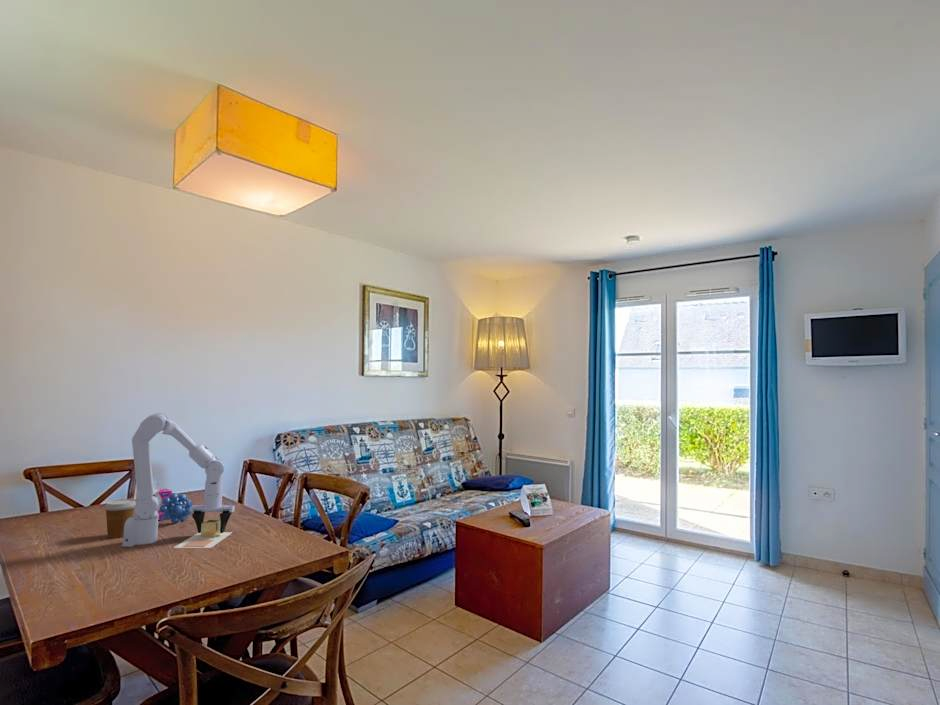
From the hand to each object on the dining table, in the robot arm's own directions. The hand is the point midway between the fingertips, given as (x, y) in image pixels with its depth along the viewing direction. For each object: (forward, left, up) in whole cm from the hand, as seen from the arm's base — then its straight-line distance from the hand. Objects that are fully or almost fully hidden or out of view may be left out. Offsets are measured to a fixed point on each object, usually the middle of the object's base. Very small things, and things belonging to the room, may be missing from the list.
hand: (211, 532), depth 180 cm
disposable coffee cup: (-33, +2, -2) cm, 33 cm away
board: (0, -5, -2) cm, 5 cm away
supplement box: (-31, +25, -2) cm, 40 cm away
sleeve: (0, 0, -1) cm, 1 cm away
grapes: (-21, +18, -2) cm, 28 cm away
